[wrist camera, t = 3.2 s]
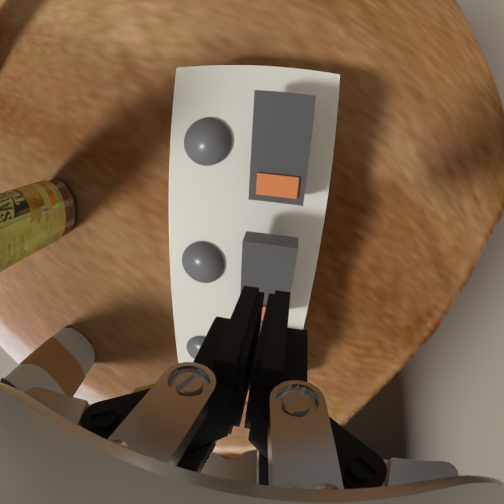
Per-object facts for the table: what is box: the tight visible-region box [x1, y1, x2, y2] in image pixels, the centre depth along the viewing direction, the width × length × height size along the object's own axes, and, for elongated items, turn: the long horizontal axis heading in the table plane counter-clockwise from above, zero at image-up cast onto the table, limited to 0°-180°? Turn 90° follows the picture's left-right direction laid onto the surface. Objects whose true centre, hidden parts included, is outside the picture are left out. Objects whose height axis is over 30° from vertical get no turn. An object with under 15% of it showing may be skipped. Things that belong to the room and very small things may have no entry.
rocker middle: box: [240, 231, 299, 323], centre depth 17 cm, size 6×3×1 cm, turn 175°
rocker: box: [249, 90, 316, 206], centre depth 14 cm, size 6×3×1 cm, turn 175°
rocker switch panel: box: [169, 65, 340, 363], centre depth 20 cm, size 26×10×4 cm, turn 175°
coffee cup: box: [0, 328, 95, 397], centre depth 24 cm, size 8×8×15 cm
